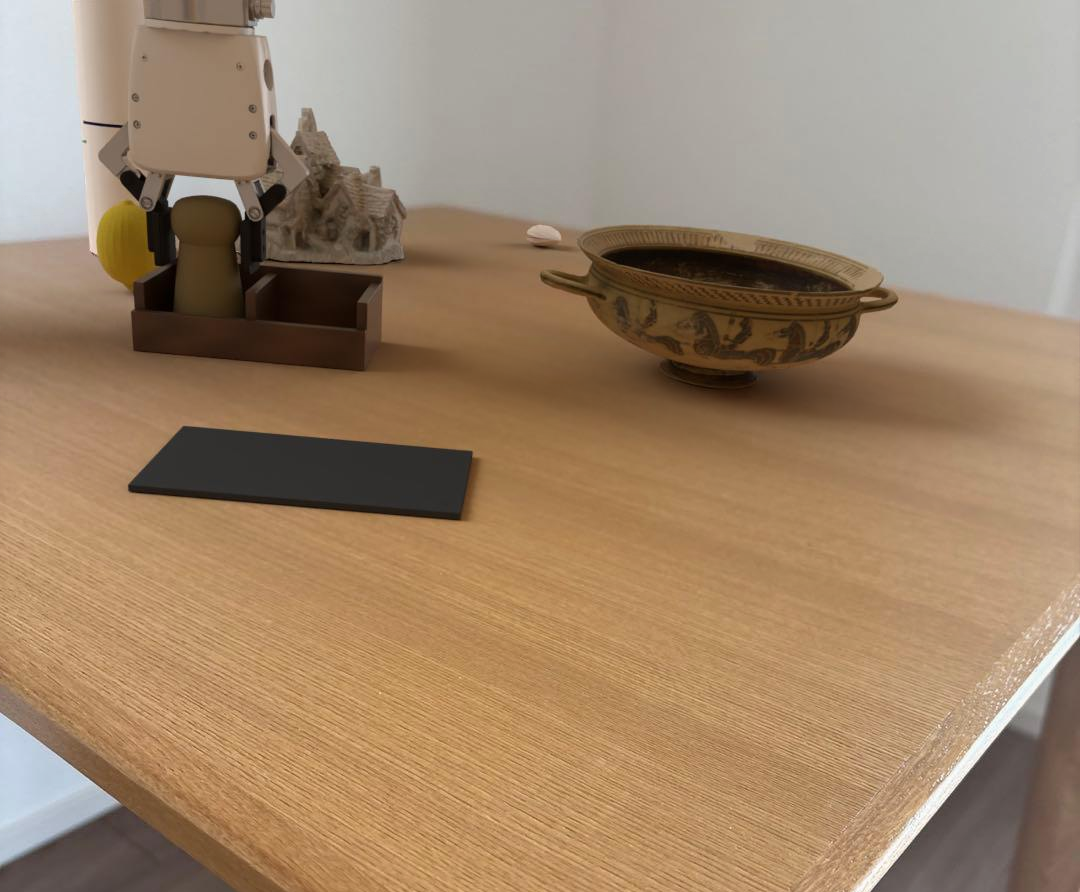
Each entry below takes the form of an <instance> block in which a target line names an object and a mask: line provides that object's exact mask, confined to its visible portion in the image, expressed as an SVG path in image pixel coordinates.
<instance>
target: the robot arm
mask: <svg viewBox="0 0 1080 892" xmlns="http://www.w3.org/2000/svg"><path fill="white" fill-rule="evenodd" d="M275 1H276V0H143V7H144V17H145V18H144V25H136V26H135V31H134V37H133V44H132V53H131V63H130V74H129V91H128V121H127V122H126V123H125V124H124V125H123V126H122V127H121V129H120V130H119V131H118V132H117V133H116V134H115V135H114V136H113V137H112V138H111V139H110V140H109V142H108V143H107V144H106V145H105V146H104V147H103V148H102V149H101V150H100V151H99V153H98V157H99V160H100V161H101V162H102V163H103V164H104V165H105V166H106V167H107V168H108V169H109V170H110V171H111V172H112V173H113V174H114V175H115V176H116V177H118V178H119V179H120V181H121V183H122V185H123V186H124V187H125V188H126V189H127V190H128V191H129V192H130V193H131V194H132V195H133V196H134V197H135V199H136V200H137V201H138V202H139V205H140V207H141V208H142V209H143V210H144V211H146V221H147V240H148V250H149V252H154V263H155V266H161V267H163V266H165V265H167V264H168V263H170V262H172V261H173V260H175V259H176V256H177V245H176V244H177V240H176V235H175V234H174V232H173V229H172V226H171V217H170V215H171V210H172V207H173V206H169V200H168V197H169V195H170V193H171V189H172V186H173V184H174V181H175V178H176V176H181V177H193V178H201V179H213V180H225V181H233V182H234V185H235V187H236V189H237V192H238V195H239V197H240V200H241V203H242V205H243V208H244V210H245V211H244V219H242V221H241V222H240V254H239V255H240V262H241V272H243V273H244V274H250V275H251V274H252V273H254V272H255V271H256V270H257V269H259V266H260V263H264V262H265V261H266V260H267V259H266V216H267V215H269V214H270V212H271V211H272V210H273V209H275V208H276V207H277V206H278V205H279V204H280V203H281V202H282V201H283V200H284V199H285V198H286V197H287V196H288V195H289V194H290V193H291V192H293V191H294V190H295V189H296V188H297V187H298V186H299V185H301V184H302V183H303V182H304V181H305V180H306V179H307V178H308V177H309V174H310V173H309V170H308V168H307V167H306V166H305V164H304V163H303V162H302V161H301V160H300V159H299V157H298V156H297V155H296V154H295V153H294V151H293V150H292V149H291V148H290V144H288V143H287V141H286V140H285V139H284V138H283V137H282V136H281V134H280V133H279V123H278V109H277V97H276V96H277V95H276V87H275V79H274V78H275V77H274V70H273V63H272V62H273V61H272V58H271V57H272V56H271V50H270V45H269V41H268V37H267V36H266V35H258V34H256V27H258V22H260V20H264V19H275V15H276V2H275ZM129 150H130V154H131V158H132V161H133V162H134V163H135V164H136V165H137V166H138V167H140V168H142V169H144V170H146V171H149V172H148V175H147V178H146V177H145V176H144V175H143V173H142V172H141V171H139V170H138V169H136V168H135V167H134V166H133V165H132V163H131V162H130V161H129V160H128V158H127V153H128V151H129ZM278 164H279V165H280V166H281V167H282V169H283V176H282V177H281V178H280V179H279V180H278V181H277V182H276V183H275V184H274V185H273V186H271V187H270V188H269V189H268V190H267V191H266V192H265V189H264V186H263V184H262V181H261V177H262V176H264V174H268V173H271V172H273V171H274V170H275V169H276V168H277V166H278Z"/></svg>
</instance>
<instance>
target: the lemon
mask: <svg viewBox="0 0 1080 892" xmlns="http://www.w3.org/2000/svg"><path fill="white" fill-rule="evenodd" d="M96 245H97V253H98V256H97V257H98V260H99V262H100V265H101V267H102V268H103V270H104V271H105V272H106V274H107V275H109V276H110V278H112V279H113V280H114V281H116V282H119V283H121V284H122V285H123V286H125V288H126V289H127V290H128V291H131V292H134V290H133V282H134V281H136V280H137V279H139V278H141V277H142V276H144V275H146V274H147V273H149V272H151V271H153V270H154V269H156V268H158V267H159V266H155V263H154V252H149V250H148V240H147V221H146V211H144V210H143V209H142V208H141V207H140V206H138V205H136V204H134V203H133V202H132V200H128V199H126V200H123V201H122V202H121V203H120V204H117V205H115V206H113V207H111V208H110V209H108V210H107V211H106V212H105V213H104V215H103V216H102V218H101V220H100V222H99V226H98V230H97V239H96Z"/></svg>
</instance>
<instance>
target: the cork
mask: <svg viewBox="0 0 1080 892" xmlns="http://www.w3.org/2000/svg"><path fill="white" fill-rule="evenodd" d="M171 207H172V210H171V215H170V217H171V226H172V229H173V232H174V234H175V237H176V238H177V239H178V240H179V242H178V252H177V256H178V262H177V273H176V283H175V294H174V305H173V312H175V313H186V314H197V315H208V316H219V317H230V318H241V319H246V312H245V305H244V299H243V292H242V286H241V279H240V273H239V266H238V261H239V260H238V253H236V246H235V242H236V240H237V239H238V237H239V236H240V222H241V221H242V220H243V217H242V213H241V210H240V208H239V206H238V205H237V204H236V203H235V202H234V201H232V200H230V199H227V198H224V197H221V196H220V197H219V196H215V195H207V194H199V195H189V196H188V195H187V196H184V197H181V198H179V199H177V200H176V201H175V202H174V204H173V206H171Z"/></svg>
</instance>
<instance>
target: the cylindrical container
mask: <svg viewBox="0 0 1080 892" xmlns="http://www.w3.org/2000/svg"><path fill="white" fill-rule="evenodd" d="M71 13H72V26H73V39H74V54H75V67H76V79H77V81H76V83H77V94H78V108H79V118H80V119H79V121H80V134H81V136H80V137H81V139H82V140H81V147H82V149H81V150H82V160H83V161H82V162H83V172H84V173H83V175H84V188H85V200H86V201H85V205H86V215H87V229H88V243H89V252H90V251H91V252H93V253H95V254H98V253H97V245H96V239H97V230H98V226H99V222H100V220H101V218H102V216H103V215H104V213H105V212H106V211H107V210H108V209H110V208H111V207H113V206H115V205H117V204H120V203H121V202H122V201H123V200H126V199H128V200H132V202H133V203H134V204H136V205H138V206H140V205H139V202H138V201H137V200H136V199H135V197H134V196H133V195H132V194H131V193H130V192H129V191H128V190H127V189H126V188H125V187H124V186H123V185H122V183H121V181H120V179H119V178H118V177H116V176H115V175H114V174H113V173H112V172H111V171H110V170H109V169H108V168H107V167H106V166H105V165H104V164H103V163H102V162H101V161H100V160H99V157H98V153H99V151H100V150H101V149H102V148H103V147H104V146H105V145H106V144H107V143H108V142H109V140H110V139H111V138H112V137H113V136H114V135H115V134H116V133H117V132H118V131H119V130H120V129H121V127H122V126H123V125H124V124H125V123H126V122H127V121H128V91H129V74H130V63H131V53H132V44H133V37H134V31H135V26H136V25H144V18H145V17H144V7H143V0H71ZM127 158H128V160H129V161H130V162H131V163H132V165H133V166H134V167H135V168H136V169H138V170H139V171H141V172H142V173H143V175H144V176H145V177H146V178H147V175H148V172H149V171H146V170H144V169H142V168H140V167H138V166H137V165H136V164H135V163H134V162H133V161H132V158H131V154H130V150H129V151H128V153H127Z"/></svg>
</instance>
